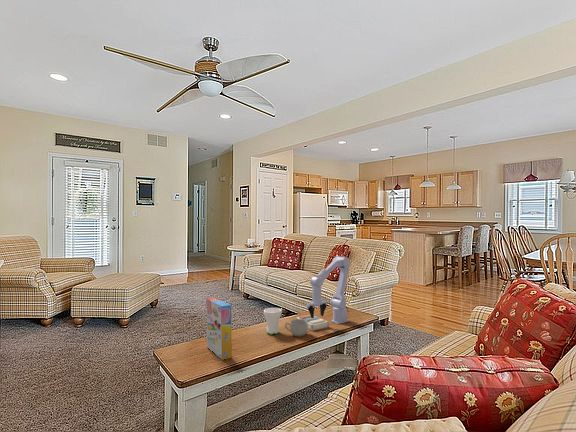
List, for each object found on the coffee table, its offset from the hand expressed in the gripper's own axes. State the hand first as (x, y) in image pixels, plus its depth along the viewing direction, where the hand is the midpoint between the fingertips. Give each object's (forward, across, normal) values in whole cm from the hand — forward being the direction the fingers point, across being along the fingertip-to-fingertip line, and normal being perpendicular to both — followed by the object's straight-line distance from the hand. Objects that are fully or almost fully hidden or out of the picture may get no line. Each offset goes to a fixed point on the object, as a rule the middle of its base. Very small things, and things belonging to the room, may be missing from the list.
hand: (317, 316), depth 214 cm
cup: (+7, +29, -6) cm, 31 cm away
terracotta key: (+5, 0, -12) cm, 13 cm away
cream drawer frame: (+7, 0, -6) cm, 9 cm away
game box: (+7, +67, +5) cm, 68 cm away
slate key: (+5, 0, -6) cm, 8 cm away
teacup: (+7, +18, +4) cm, 20 cm away
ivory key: (+5, 0, 0) cm, 5 cm away
